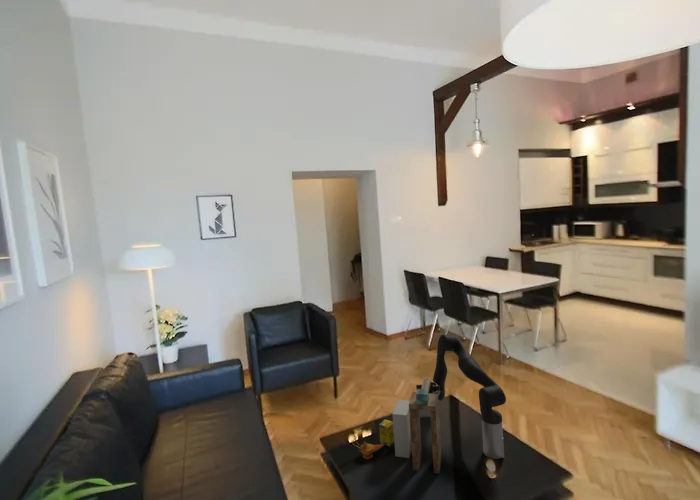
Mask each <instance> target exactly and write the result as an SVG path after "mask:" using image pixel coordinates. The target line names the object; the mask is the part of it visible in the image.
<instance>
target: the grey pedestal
mask: <svg viewBox="0 0 700 500" xmlns="http://www.w3.org/2000/svg"><path fill="white" fill-rule="evenodd" d="M409 402H410V399H409V400H406V399H397V401H396V404H395V406H394V409H393V412H392V422H393V429H394V443H393V444H394V452H395V453H394V455H395V456H394V457H399V458H405V459H410V458H411V455H412V446H411V431H410V415H409Z"/></svg>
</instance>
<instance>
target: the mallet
mask: <svg viewBox="0 0 700 500" xmlns="http://www.w3.org/2000/svg"><path fill="white" fill-rule="evenodd" d="M431 380H432V379H431V377H424V378H423V380H422V383H421V385H422V387H421V389H417V390H416V391H415V392H416V404H419V405H428V402H429V394H428V392H429V388H430V384H431V382H432V381H431Z"/></svg>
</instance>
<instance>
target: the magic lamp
mask: <svg viewBox="0 0 700 500" xmlns="http://www.w3.org/2000/svg"><path fill="white" fill-rule="evenodd" d="M352 438H353V440H352V442H351V443H352V445H353V446H354V447H357V448H358V449H359V451H360V453H362V458H363V459H364V460H370V459H372V458H373V453H374V452H376V451H378V450H380V449H381V448H382V447H383V446H385V445H386V444H388V443H387V442H385V443H381V444H380V443H379V444H373V443H367V442H366V441H364V442H363V443H362V444H359V443H358V441H357V436H356V435H355V434H353V436H352ZM354 441H355V442H356V444H357V445H356V444H355V443H354Z"/></svg>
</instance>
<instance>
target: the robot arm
mask: <svg viewBox="0 0 700 500" xmlns="http://www.w3.org/2000/svg"><path fill="white" fill-rule="evenodd" d="M446 352H453V353H454V354H455V355H456V356H457V357H458V358H457V359H458V360H457V364H458V368H459V370H460V371H461V373H462V374H463V375H464V377H466V378H467V379H469V380H470V381H473V382H474V383H475V384H476V383H477V384H479V385H480V386H482V387H480V389H479V390H478V401H479V412H480V415H481V429H482V451H483V454H484V455H485V456H486V457H487V458H490V459H494V460H498V459H505V449H504V447H505V446H504V444H505V443H504V432H503V430H504V429H503V415H502V414H501V413H500V412H499V411H498V410H497V409H493V408H495V407H499V406H503V405H505V404H506V402H507V397H506V394H505V392H504V390H503V389H502V388H501V387H500V385H499V384H498V383H497V382H496V381H495V380H494V379H493V378H491V377H490V376H489V374H487V373H486V372H485V370H484V369H483V368H482V366H480V364H479V363H478V362H477V361H476V360H475V358H474V357H473V356H472V355H471V354H470V353H469V351H468V350H467V349H466V347H465V345H464V344H463V343H462V341H461V340H460V338H459V337H458V336H457V335H454V334H442V335H440V336H439V338H438V341H437V351H436V361H435V369H434V372H433V377H432V381H431V384H430V388H429V392H428V393H432V394H438V401H442V400H444V399H445V397H446V388H445V387H446V380H447V379H446V378H447V375H448V367H447V364H446V359H445V354H446ZM421 387H422V384H416V387H415V388H416V389H415V390H416V391H417V389H421Z"/></svg>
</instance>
